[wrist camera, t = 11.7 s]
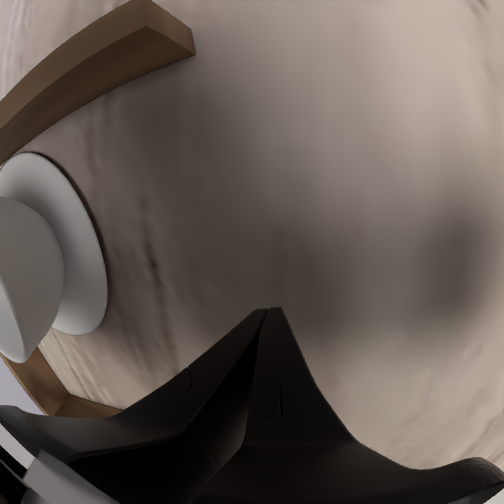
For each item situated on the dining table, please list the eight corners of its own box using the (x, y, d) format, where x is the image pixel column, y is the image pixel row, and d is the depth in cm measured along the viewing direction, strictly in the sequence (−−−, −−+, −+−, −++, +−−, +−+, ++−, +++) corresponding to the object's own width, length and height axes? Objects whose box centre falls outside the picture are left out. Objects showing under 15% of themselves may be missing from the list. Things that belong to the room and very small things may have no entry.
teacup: (35, 107, 8) (-49, 120, 4) (154, 283, 11) (85, 362, 6) (-14, 228, 12) (-63, 257, 8) (68, 349, 14) (26, 396, 10)
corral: (285, 438, 13) (278, 482, 11) (69, 399, 18) (51, 422, 15) (190, 29, 7) (141, -6, 4) (-33, 180, 11) (-64, 194, 8)
